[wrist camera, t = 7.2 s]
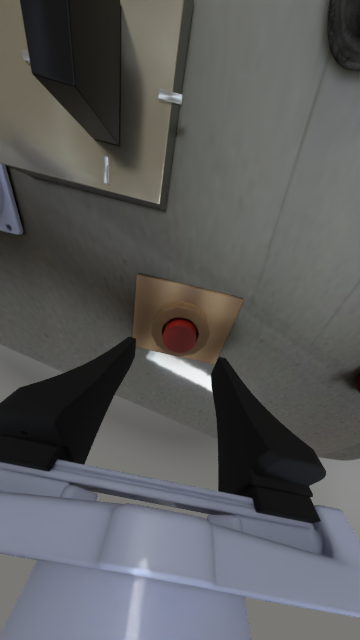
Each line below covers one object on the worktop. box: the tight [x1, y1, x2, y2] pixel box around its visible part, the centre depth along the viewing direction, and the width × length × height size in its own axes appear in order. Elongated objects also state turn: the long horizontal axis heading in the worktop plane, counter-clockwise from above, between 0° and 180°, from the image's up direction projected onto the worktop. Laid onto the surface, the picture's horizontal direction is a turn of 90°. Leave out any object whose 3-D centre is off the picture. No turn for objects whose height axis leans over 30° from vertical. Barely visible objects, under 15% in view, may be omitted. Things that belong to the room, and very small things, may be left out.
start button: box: [162, 319, 196, 353], centre depth 16 cm, size 4×4×2 cm
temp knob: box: [20, 0, 120, 145], centre depth 6 cm, size 5×2×4 cm, turn 167°
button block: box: [132, 273, 244, 364], centre depth 17 cm, size 12×10×2 cm
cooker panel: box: [0, 0, 194, 211], centre depth 9 cm, size 13×10×3 cm
